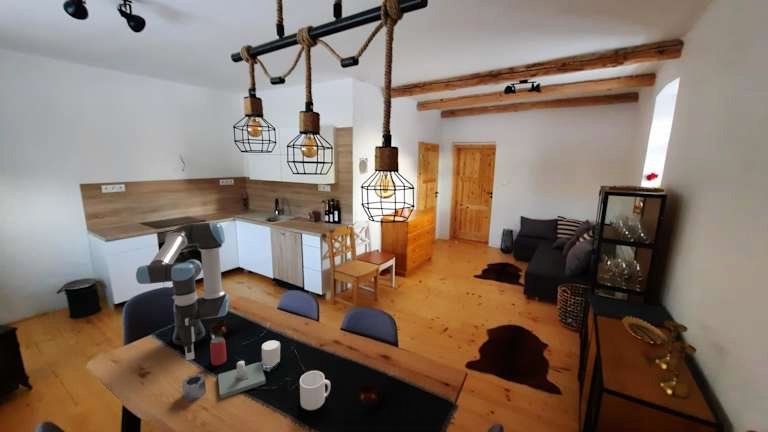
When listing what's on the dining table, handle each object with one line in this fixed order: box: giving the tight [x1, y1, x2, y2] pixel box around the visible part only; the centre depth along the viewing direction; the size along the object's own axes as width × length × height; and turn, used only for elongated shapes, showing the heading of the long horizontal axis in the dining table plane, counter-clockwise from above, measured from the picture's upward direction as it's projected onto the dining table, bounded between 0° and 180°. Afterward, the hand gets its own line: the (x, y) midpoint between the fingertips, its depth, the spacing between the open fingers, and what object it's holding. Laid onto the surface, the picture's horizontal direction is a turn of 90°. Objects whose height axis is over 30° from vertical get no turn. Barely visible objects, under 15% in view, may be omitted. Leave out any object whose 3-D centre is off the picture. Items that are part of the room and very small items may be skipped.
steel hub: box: [181, 373, 207, 402], centre depth 128 cm, size 8×8×6 cm
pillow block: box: [217, 360, 267, 400], centre depth 135 cm, size 14×18×9 cm
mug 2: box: [261, 339, 281, 366], centre depth 150 cm, size 12×9×8 cm
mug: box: [299, 370, 332, 411], centre depth 125 cm, size 13×10×10 cm
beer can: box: [209, 336, 227, 366], centre depth 148 cm, size 7×7×12 cm
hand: (190, 350), depth 125 cm, fingers open, 13 cm apart
